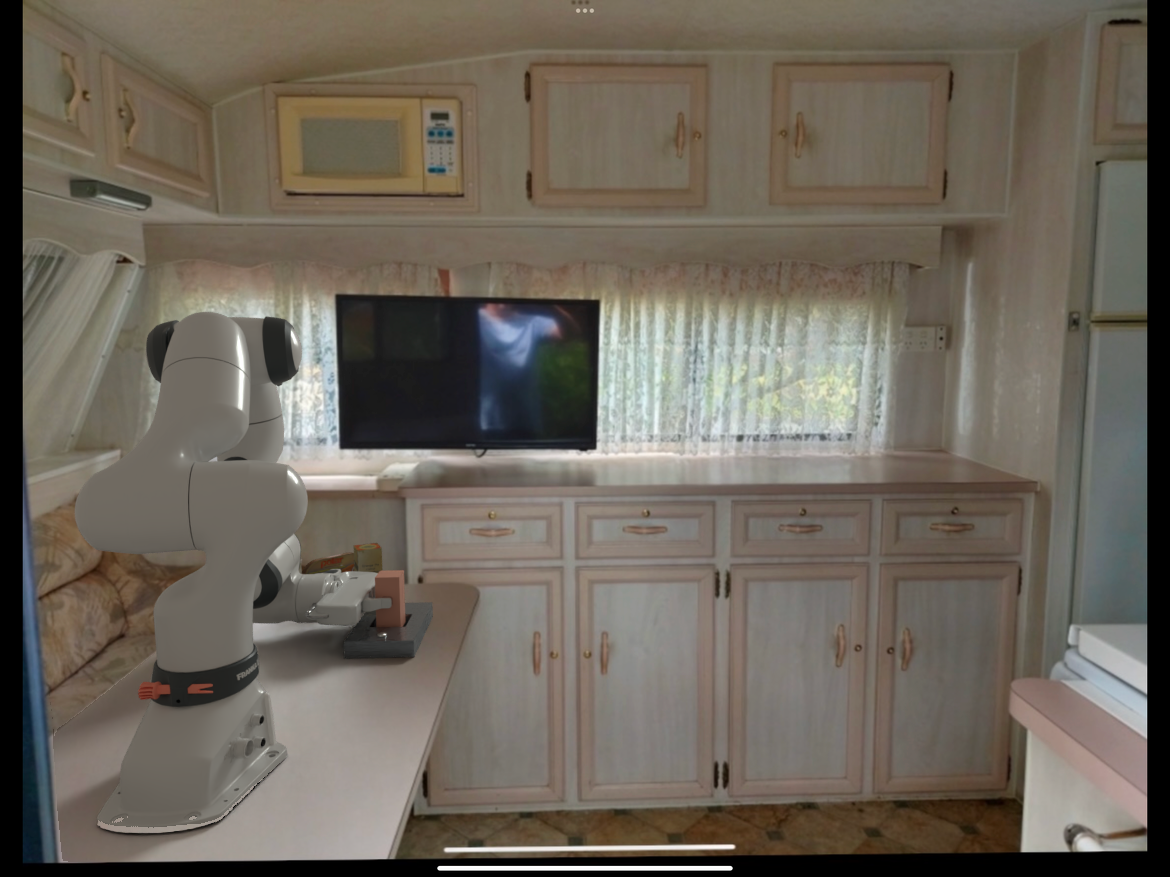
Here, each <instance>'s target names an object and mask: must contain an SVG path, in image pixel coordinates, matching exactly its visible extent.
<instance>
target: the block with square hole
mask: <svg viewBox="0 0 1170 877" xmlns="http://www.w3.org/2000/svg"><path fill="white" fill-rule="evenodd" d="M433 615H434V614H433V602H432V601H431V602H430V601H429V602H427V601H426V602H405V621H406V622H405V623H404V625H403V627H376V610H374V611H366V612H365V613H364V614H363V616H362V617H361V619H360V620H359V621H358V623H357V624H355V625H354V627H353V628H352V629H351V631H350V632H349V634H348V635H347V637H346V638H344V641H343V657H344V658H343V659H381V658H382V659H383V658H384V659H385V658H389V659H390V658H415V657H416V655H417V654H416V653H417V652H418V650H419V647H420V645H421V643H422V641H423V639H424V637H425V634H426V633H427V630H428V628H429V626H430V623H431V622H432V619H433V617H434V616H433Z"/></svg>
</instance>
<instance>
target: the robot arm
mask: <svg viewBox="0 0 1170 877" xmlns="http://www.w3.org/2000/svg"><path fill="white" fill-rule="evenodd" d="M145 346H146V347H145V359H146V363H147V366H148V368H149V370H150V373H151V375H152V376H153V377H152V378H154V379H155V380H156V381H157V382H158V383H159V384H160V386H159V392H158V399H157V404H156V408H155V412H154V415H153V416H154V417H153V420H152V423H151V424H150V426H149V428H148V430H147V431H146V433H145V434H144V435H143V437H142V438H141V439H140V441H139V442H138V443H137V444H136V445H135V446H134V447H133V448H132V449H131V450H130V451H129V452H127V453H126V454H125V455H124V456H123V457H121V458H120V459H119V460H117V461H115V462H114V463H113V464H111V465H109V466H107V467H106V468H104V469H101V470H99V471H97V472H96V473H94V474H92V475H91V477H89V478H88V479H87V480H86V482H85V483H84V484H83V486H82V487H81V489H80V490H79V492H78V494H77V497H76V500H75V504H74V519H75V523H76V528H77V529H78V531H79V534H80V535H81V537H82V538H83V539H84V541H86V542H87V544H88V545H89V546H91V547H92V548H93V549H94V550H97V551H102V552H110V553H111V552H112V553H118V554H119V553H120V554H130V555H131V554H133V555H148V554H158V553H159V554H160V553H173V552H185V551H186V552H187V551H201V552H204V553H205V564H204V565H203V566H201V567H200V568H198V570H195V571H194V572H191V573H190V574H188V575H186V576H184V577H183V578H180V579H178V580H177V581H175V582H173V583H172V584H170V585H169V586H168V587H166V589H164V590H163V591H162V593H160V595H159V596H158V597H157V599H156V601H155V604H154V607H153V611H152V612H153V623H154V637H155V651H156V652H155V653H156V654H155V655H156V660H155V661H154V663H153V668H152V673H151V674H150V681H143V682H141V683H140V685H139V688H138V689H137V692H138V693H137V695H138V699H139V700H143V701H144V700H150V702H149V704H148V706H147V708H146V710H145V713H144V714H143V715H142V718H141V720H140V722H139V724H138V727H137V728H136V731H135V733H134V735H133V737H132V740H131V742H130V744H129V746H128V749H127V750H126V752H125V754H124V757H123V759H122V761H121V766H120V773H119V774H120V777H119V783H118V784H117V786H116V787H115V788H114V790H113V791H112V793H111V794H110V796H109V798H108V799H107V800H106V802H105V803H104V804H103V807H102V808H101V810H100V811H99V813H98V815H97V817H96V821H97V820H99V821H100V822H101V821H102V822H103V823H105V824H108V825H109V824H110V825H114V826H126V827H131V826H132V827H133V826H134V827H135V826H136V827H137V826H138V827H148V828H149V827H153V828H154V827H167V826H176V825H187V824H201V823H205V822H208V821H212V820H215V819H217V818H219V817H221V816H222V815H224V813H225V812H226V811H227V810H229V808H231V807H232V805H233V804H235V802H237V801H238V800H239V799H240V798H241V796H243V795H244V794H245V793H246V792H247V791H248V790H250V788H251V787H252V786H254V785H255V784H256V783H258V782H259V781H260V780H261V779H263V777H265V776H266V775H267V774H268V773H269V772H270V771H271V770H273V769H274V768H275V767H276V766H277V765H278V764H279V763H280V764H281V763H282V762H284V760H285V759H286V758H287V757H288V749H287V748H288V747H287V746H286V745H284V744H283V743H281V742H279V741H277V734H276V727H275V720H274V719H275V718H274V713H273V711H274V710H273V705H272V697H271V694H270V693H269V691H267V690H266V689H265V688H264V687H263V684H261V682H260V680H259V678H258V676H259V673H260V666H259V664H260V656H259V653H258V648H257V645H256V644H255V643H254V631H253V630H254V624H268V625H269V624H282V623H284V622H295V623H298V624H319V625H325V626H341V627H342V626H344V627H345V626H346V627H347V626H355V625H356V624H357V623H358V621H359V620H360V619H361V617H362V616H363V615H364V613H365V612H366V611H374V610H378V609H381V608H390V607H391V606H392V604H393V598H392V597H391V596H388V597H387V596H383V597H382V598H375V577H376V575H377V574H378V573H375V572H358V571H348V572H343V573H341V570H340V569H331V570H328V571H326V572H323V573H317V574H300V573H299V567H300V559H301V558H302V554H301V553H302V546H301V542H300V539H299V537H298V536H297V534H295V533H296V532H297V531H298V530H299V528H300V527H301V526H302V524H303V522H304V520H305V517H306V515H307V512H308V506H309V502H308V499H309V497H308V491H307V488H306V486H305V483H304V481H303V479H302V478H301V475H299V473H298V472H297V471H296V470H295V469H294V468H293V467H292V466H290V465H289V464H285V463H278V461H279V458H280V457H281V455H282V453H283V451H284V450H283V449H284V443H285V442H284V441H285V423H284V422H285V421H284V417H283V410H282V404H281V398H280V394H279V392H278V387H280V386H282V385H283V383H285V382H288V381H290V380H292V379H293V378H294V377H295V376H296V375H297V374H298V372H299V369H300V365H301V362H302V357H303V350H302V349H303V348H302V343H301V340H300V338H299V335H298V334H297V332H296V330H295V327H294V325H293V324H292V323H290V321H288V320H287V319H286V318H285V319H284V318H280V317H274V316H265V317H264V318H262V317H261V318H260V317H247V316H238V317H237V316H231V317H230V316H226V315H225V314H222V313H219V312H214V311H213V312H212V311H200V312H195V313H191V314H189V315H187V316H185V317H184V318H182V319H181V320H180V321H179V320H177V319H176V320H175V319H174V320H169V321H165V322H162V323H160V324H157V325H155V326H154V327H153V329H152V330H150V331H149V333H148V335H147V337H146V345H145ZM215 458H216V460H217V461H216V460H215V461H211V460H213V459H215ZM280 764H279V765H280ZM279 765H278V766H279ZM278 766H277V767H278ZM277 767H276V768H277ZM276 768H275V769H276ZM275 769H274V770H275ZM274 770H273V771H274ZM266 777H267V776H266ZM266 777H265V778H266ZM263 780H264V779H263ZM127 816H128V818H127ZM192 816H195V817H197V818H196V819H193V820H189V818H190V817H192ZM121 817H122V818H124V819H123V820H122V822H121V821H120V822H117V823H116V822H115V823H114V821H115V820H116V819H118V818H121ZM112 821H113V823H112Z"/></svg>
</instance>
